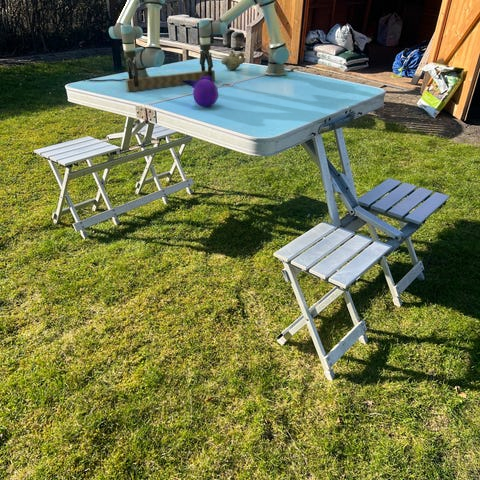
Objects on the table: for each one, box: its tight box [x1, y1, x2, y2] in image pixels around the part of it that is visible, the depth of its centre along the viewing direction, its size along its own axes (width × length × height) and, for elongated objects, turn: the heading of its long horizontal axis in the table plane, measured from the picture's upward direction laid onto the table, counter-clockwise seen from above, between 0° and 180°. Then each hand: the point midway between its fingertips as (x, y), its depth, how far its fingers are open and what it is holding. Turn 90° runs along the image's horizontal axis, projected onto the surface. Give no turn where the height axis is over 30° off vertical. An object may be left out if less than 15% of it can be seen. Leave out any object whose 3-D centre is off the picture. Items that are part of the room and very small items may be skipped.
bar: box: [124, 69, 216, 93], centre depth 320 cm, size 66×5×8 cm, turn 119°
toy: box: [182, 75, 219, 108], centre depth 268 cm, size 16×18×27 cm
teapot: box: [221, 50, 245, 71], centre depth 369 cm, size 21×12×15 cm, turn 120°
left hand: (134, 85), depth 309 cm, fingers open, 10 cm apart
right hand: (206, 76), depth 332 cm, fingers open, 10 cm apart
